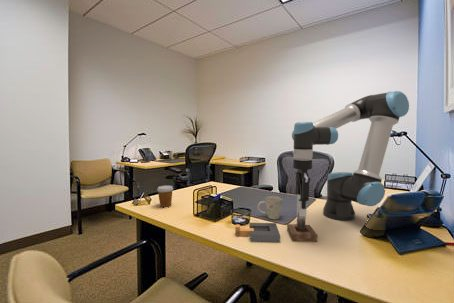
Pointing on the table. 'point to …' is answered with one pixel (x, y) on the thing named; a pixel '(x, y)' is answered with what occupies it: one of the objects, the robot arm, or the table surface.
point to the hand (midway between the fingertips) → (301, 213)
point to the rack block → (301, 233)
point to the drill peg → (300, 219)
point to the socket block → (264, 232)
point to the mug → (272, 207)
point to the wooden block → (242, 231)
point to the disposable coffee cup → (165, 195)
